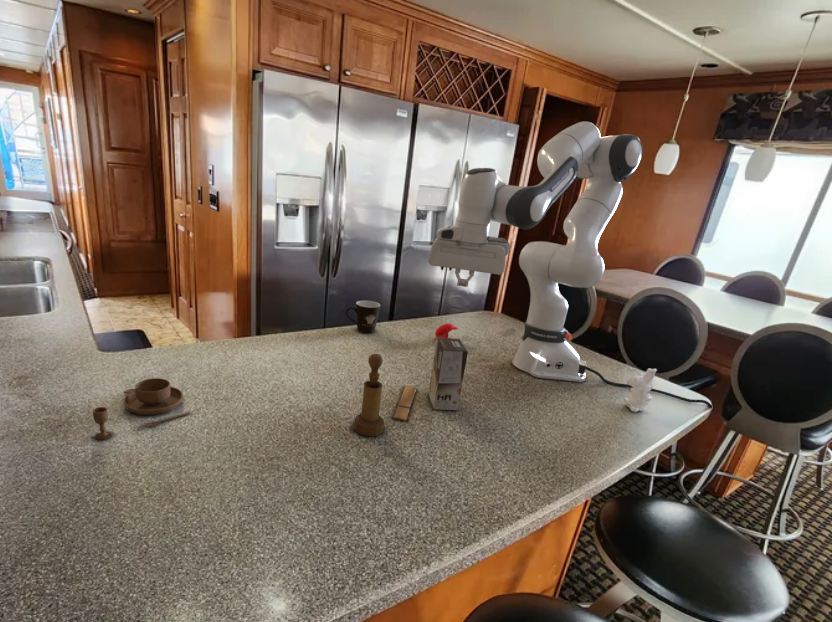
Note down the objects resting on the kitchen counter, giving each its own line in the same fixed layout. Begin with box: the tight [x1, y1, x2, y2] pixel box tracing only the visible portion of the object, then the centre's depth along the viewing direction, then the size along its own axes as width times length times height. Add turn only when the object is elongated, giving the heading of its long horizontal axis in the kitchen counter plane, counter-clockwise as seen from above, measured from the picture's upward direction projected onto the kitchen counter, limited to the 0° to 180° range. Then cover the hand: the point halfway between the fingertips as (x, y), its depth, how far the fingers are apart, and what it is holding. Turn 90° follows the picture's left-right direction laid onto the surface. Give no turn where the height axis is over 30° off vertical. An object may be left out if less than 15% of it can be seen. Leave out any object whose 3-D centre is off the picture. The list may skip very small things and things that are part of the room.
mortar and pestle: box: [353, 353, 385, 437], centre depth 99 cm, size 7×6×18 cm
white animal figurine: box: [623, 367, 658, 413], centre depth 124 cm, size 8×7×12 cm
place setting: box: [92, 377, 189, 441], centre depth 99 cm, size 18×20×6 cm
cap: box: [434, 323, 459, 339], centre depth 163 cm, size 8×6×6 cm
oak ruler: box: [392, 385, 417, 422], centre depth 116 cm, size 3×18×1 cm, turn 168°
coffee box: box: [428, 337, 469, 411], centre depth 115 cm, size 9×6×16 cm
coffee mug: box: [345, 300, 381, 335], centre depth 163 cm, size 12×9×10 cm
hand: (462, 286), depth 124 cm, fingers closed
